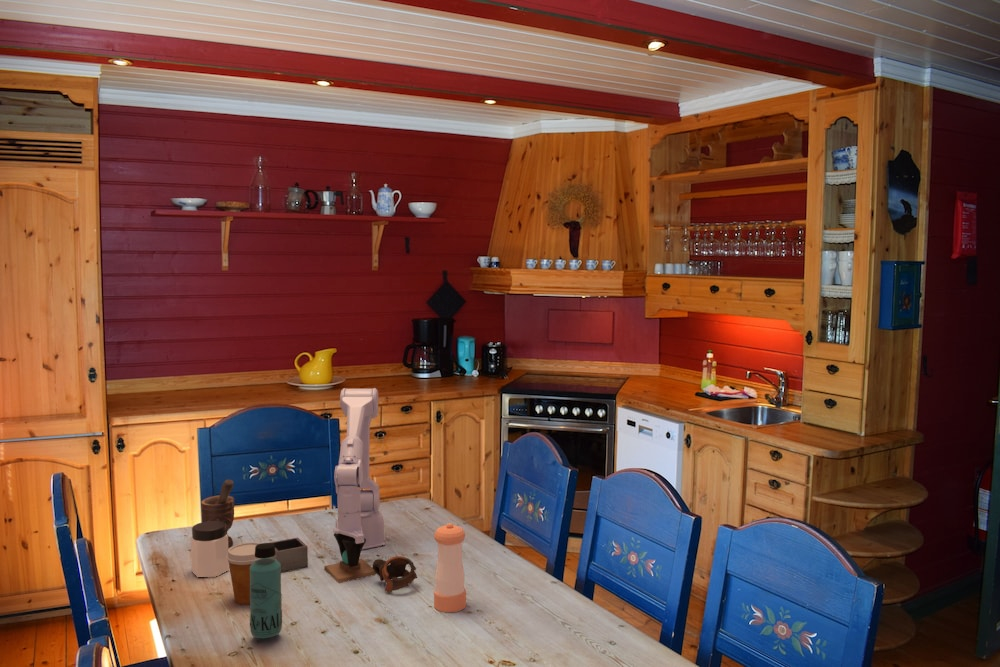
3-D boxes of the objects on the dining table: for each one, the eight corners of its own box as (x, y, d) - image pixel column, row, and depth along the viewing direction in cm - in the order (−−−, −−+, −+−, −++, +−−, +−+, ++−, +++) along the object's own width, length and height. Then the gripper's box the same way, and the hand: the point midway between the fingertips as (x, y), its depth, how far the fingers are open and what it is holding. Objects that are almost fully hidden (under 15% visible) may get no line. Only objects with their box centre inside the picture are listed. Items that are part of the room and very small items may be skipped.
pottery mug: (423, 581, 195) (424, 559, 190) (405, 611, 187) (406, 589, 183) (380, 564, 198) (380, 542, 193) (361, 592, 190) (360, 570, 186)
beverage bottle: (254, 632, 166) (251, 539, 164) (286, 630, 167) (283, 538, 165) (246, 646, 160) (244, 550, 158) (280, 645, 160) (277, 549, 159)
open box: (298, 557, 209) (297, 537, 209) (307, 567, 202) (307, 546, 202) (268, 563, 205) (267, 542, 204) (276, 573, 198) (276, 552, 198)
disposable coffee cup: (278, 598, 183) (277, 548, 182) (240, 611, 176) (239, 559, 175) (257, 587, 189) (255, 539, 188) (219, 599, 182) (218, 549, 182)
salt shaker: (441, 614, 174) (441, 530, 173) (429, 602, 181) (428, 521, 179) (471, 608, 178) (471, 525, 176) (458, 596, 184) (457, 516, 183)
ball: (354, 560, 202) (354, 545, 201) (360, 565, 198) (360, 549, 198) (339, 563, 199) (339, 548, 199) (345, 568, 196) (345, 552, 196)
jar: (233, 573, 198) (231, 526, 197) (200, 581, 193) (198, 533, 192) (220, 563, 205) (219, 518, 204) (188, 570, 200) (187, 524, 199)
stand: (361, 562, 206) (361, 552, 206) (376, 574, 197) (376, 564, 197) (324, 569, 201) (324, 560, 200) (338, 582, 192) (338, 573, 192)
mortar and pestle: (250, 544, 219) (248, 474, 217) (228, 555, 211) (226, 482, 209) (218, 539, 224) (216, 470, 222) (195, 549, 216) (193, 477, 214)
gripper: (324, 505, 202) (325, 557, 203) (344, 520, 189) (345, 575, 191) (350, 501, 205) (350, 551, 207) (371, 516, 193) (372, 569, 194)
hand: (350, 562), depth 199 cm, fingers closed on stand, 4 cm apart
